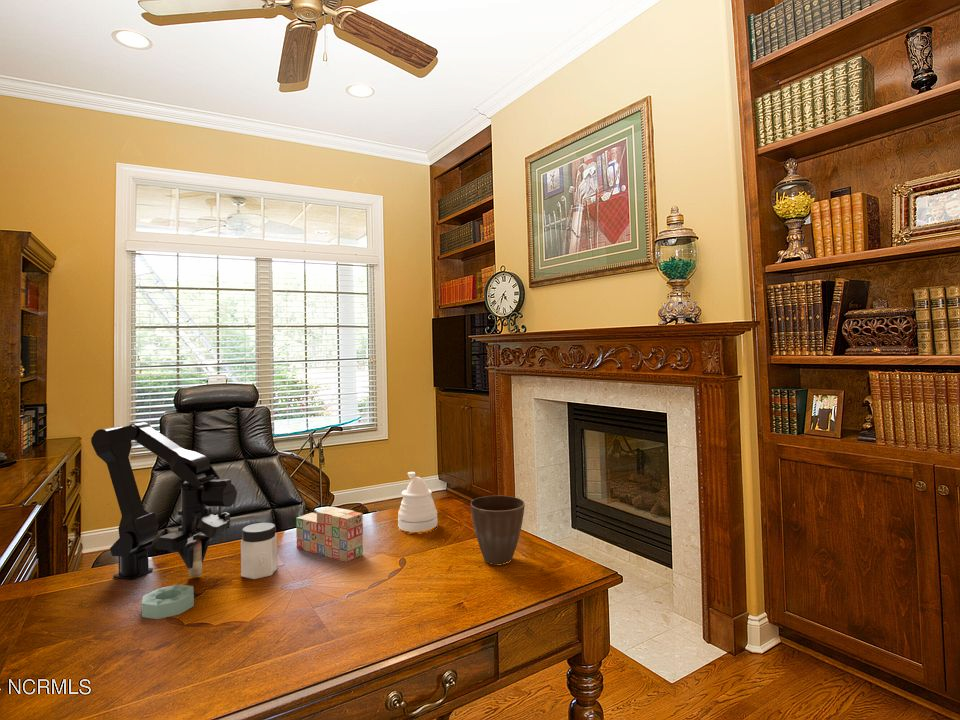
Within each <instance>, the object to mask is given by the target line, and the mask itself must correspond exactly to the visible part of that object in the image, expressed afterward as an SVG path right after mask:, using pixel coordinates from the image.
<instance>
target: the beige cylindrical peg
mask: <svg viewBox="0 0 960 720" xmlns="http://www.w3.org/2000/svg"><path fill="white" fill-rule="evenodd" d="M193 542H195V543H197V545H196V546H195V547H194V549H193V567H192V568H191V569H189V568H188V577H190V578H194V577H195V578H196V577H199V576H201V575H202V574H203V563H202V545H201V540H193Z"/></svg>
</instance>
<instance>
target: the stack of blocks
mask: <svg viewBox="0 0 960 720" xmlns="http://www.w3.org/2000/svg"><path fill="white" fill-rule="evenodd" d="M363 517H364V515H363V513H362V512H358V511H355V510H352V509H346V508H340V507H335V506H330V507H327V508H325V509H321V510H320V511H317V512H309V513H306V514H303V515H301V516H298V517H296V518H295V527H296V530H295V531H296V534H295V535H296V548H297V549H300V550H303V551H306V552H309V553H313V554H316V555H320V554H321V556H324V555H325V557H327V556H328V558H331V559H334V560H337V561H341V562H344V561H345V563H348V561H349V562H351V561H353V560H355V559H357V558H359V557H358V556H360V555H362V554H363V553H364V550H363V549H364V546H363V540H364V539H363V538H364V537H363V534H364V533H363V531H364V527H363V526H364V524H363V521H364V520H363V519H364V518H363ZM363 555H364V554H363ZM363 555H362V556H363ZM356 557H357V558H356ZM360 557H361V556H360ZM354 558H355V559H354ZM352 559H353V560H352ZM350 560H351V561H350Z"/></svg>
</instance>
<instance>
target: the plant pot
mask: <svg viewBox="0 0 960 720" xmlns="http://www.w3.org/2000/svg"><path fill="white" fill-rule="evenodd" d="M525 506H526V503H525V500H523V499H521V498H519V497H514V496H509V495H486V496H480V497H476V498H474V499H472V500H471V502H470V509H471V518H472V522H473V527H474V532H475V536H476V539H477V543H478V546H479V549H480V553H481V555H482V557H483V560H484V562H485V561H486V562H488V563H492V564H503V563H506V562H509V561H510V560H511V561H513V560H512V559H513V557H514V555H515V552H516V550H517V549H516V548H517V546H518V543H519V539H520V535H521V530H522V527H523V526H522V525H523V520H524V514H525ZM486 562H485V563H486ZM488 563H487V564H488Z"/></svg>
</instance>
